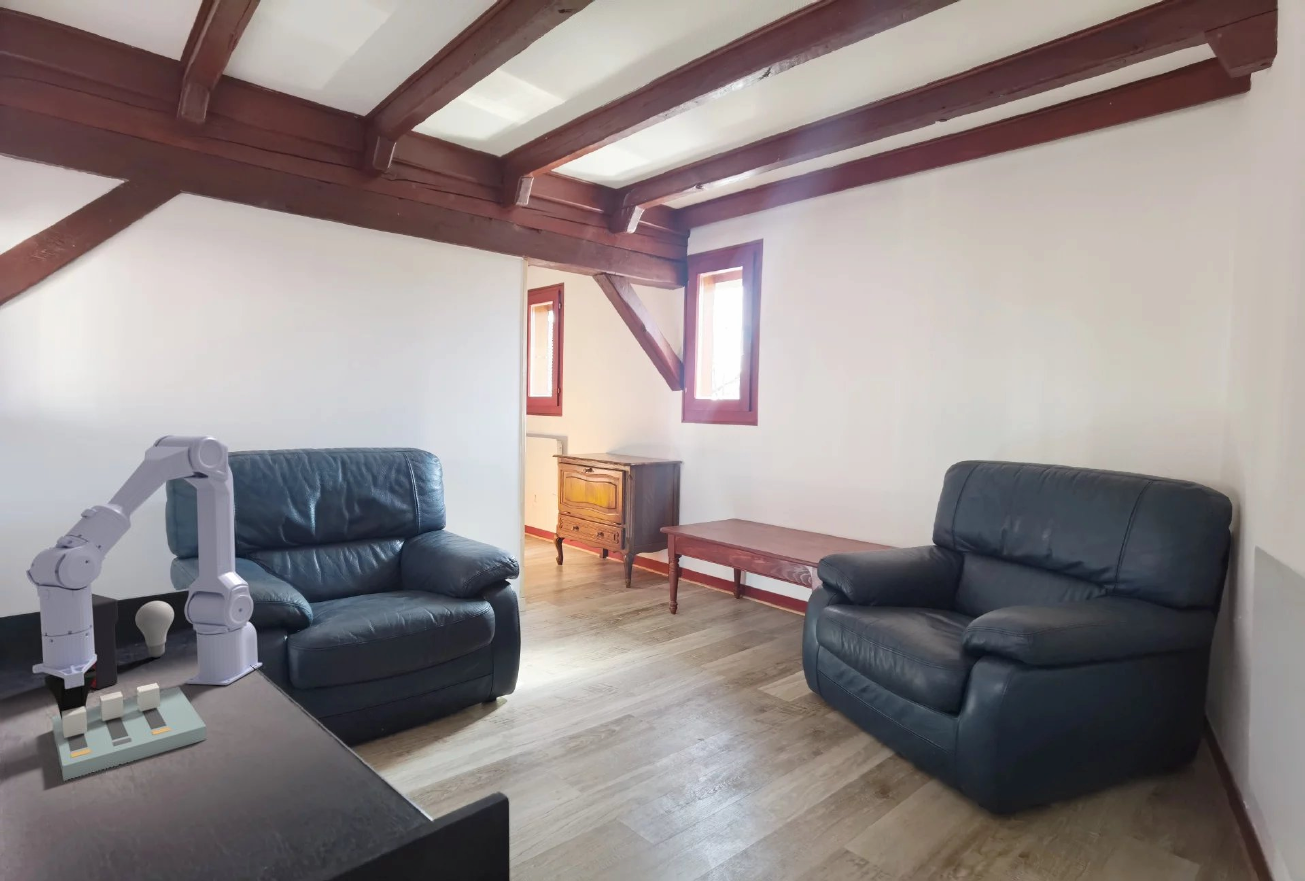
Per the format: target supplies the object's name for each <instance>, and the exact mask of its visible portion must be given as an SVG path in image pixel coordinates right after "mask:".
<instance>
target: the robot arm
mask: <svg viewBox="0 0 1305 881" xmlns="http://www.w3.org/2000/svg"><path fill="white" fill-rule="evenodd" d="M233 477H234V476H233V472H232V470H231V467H230V465H229V448H228V446H227V445H225V444H224V443H223V441H221V440H220V439H218V438H216V437H215V436H214V435H213V436H212V435H201V436H200V435H198V436H196V435H194V436H190V435H188V436H187V435H186V436H185V435H184V436H182V435H181V436H180V435H179V436H178V435H170V434H169V435H167V434H166V435H163V436H161V437H159V438H157V439H156V440H155V441H154V443H153V445H151V446H150V447H149V448H148V449H146V450H145V451H144V459H143V461H142V462H141V463H140V464H139V465H138V467H137V468H136V469H135V470H134V472H133V473H132V474H131V475H130V476H129V478H127V480H125V482H124V483H123V485H122V486H121V487H120V488H119V490H118V491H117V492H116V493H115V494H114V495H113V497H112V498H111V499H110V500H109V501H108V503H106V504H97V505H94V506H92V507H91V508H86V509H84V510H83V511H82V512H81V513H80V517H81V518H80V519H79V521H77V522H76V524H74V525H73V527H71V529H69V531H68V532H67V533H66V534H64V536H63V535H62V536H61V537H59V538H58V539H57V540H56V545H55V546H52V547H51V546H50V547H49V548H46V549H42V550H41V551H40V552H39V553H37V554H36V556H35V557H34V559H33V560H32V561H31V564H30V568H29V569H27V570H25V574H26V576H27V579H28V581H29V582H30V583H31V584H32V585H33V586H35V587H36V589H37V590H36V591H37V597H39V608H40V610H39V611H40V614H39V615H40V628H41V629H40V630H41V642H42V644H41V646H42V659H43V660H42V663H38V664H35V665H34V664H33V665H32V673H33V674H39V673H45V674H48V675H46V676H45V677H43V678H44V685H45V687H46V688H47V690H48V691H50V693H51V694H52V696H53V698H54V700H55V702H56V705H57V708H58V712H59V716H61V719H62V711H66V710H70V709H74V708H79V707H83V706H85V709H87V708H86V707H87V702H88V695H89V693H90V690H91V688H92V687H91V686H92V684H93V682H94V680H95V678H96V671H95V668H94V666H93V664H94V663H95V662H96V661H97V655H96V654H95V648H94V630H93V612H92V594H93V593H92V583H93V582H94V581H95V580H97V579H98V578H99V577H100V574H101V570H102V564H103V561H104V560H105V559H106V555H107V554H108V553H110V551H111V550H112V548H114V547H115V545H116V544H117V543H118V542H119V541H120V539H122V538H123V536H124V535H126V533H127V532H128V531H129V530H130V528H131V526H132V525H131V524H132V523H131V517H130V516H131V515H132V514H134V512H135V511H137V510H138V509H139V508H140V507H141V506H142V505H143V504H144V503H146V501H147V500H148V499H149V498H150V497H152V495H154V494H155V493H156V492H157V491H158V490H159V489H160V487H162V486H163V485H164V484H165V483H166V482H167V481H170V480H176V479H180V478H181V479H183V480H184V481H186V482H187V483H188V484H190V485H191V486H193V487H194V488H195V489H196V499H197V500H196V503H197V504H196V506H197V542H198V543H197V545H198V577H197V578H196V579H195V580H194V581H193V582H192V583H191V584H190V585H188V597H187V599H186V602H185V605H184V609H183V612H184V615H185V619H186V621H188V623H190V624H192V627H193V628H192V629H193V631H196V646H197V648H196V651H197V652H196V653H197V673H198V674H196V675H195V676H192V677H190V678H189V679H187V680H185V683H186V684H187V685H189V684H191V685H215V686H218V685H219V686H228V685H230V684H232V683H233V682H235V681H237V680H239V679H241V678H243V677H244V676H246V675H247V674H249V673H252V672H253V671H254V669H253V668H252V667H254V668H255V670H256V669H258V668H260V667H261V666H262V665H263V662H259V661H258V659H259V658H258V637H257V636H258V635H257V630H256V628H255V626H254V625H253V624H252V623H251V622H250V621H249V620H250V619H251V617H252V614H253V611H254V601H253V597H251V594H250V591H249V590H250V588H249V584H248V582H247V581H246V580H244V578H242V577H241V576H240V575H239V574H238V573H237V572H236V548H235V545H236V544H235V513H234V512H235V509H234V507H235V506H234V505H235V504H234V502H235V501H234V478H233ZM250 665H251V666H252V667H251V666H250Z"/></svg>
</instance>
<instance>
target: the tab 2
mask: <svg viewBox="0 0 1305 881" xmlns="http://www.w3.org/2000/svg"><path fill="white" fill-rule="evenodd" d="M123 700H124V696H123V693H122V692H121V690H120V691H116V692H112V693H108V694H104V695H100V696H99V706H100V711H101V718H102V720H103V721H105V720H109V719H113V718H117V717H121V716H124V708H123Z"/></svg>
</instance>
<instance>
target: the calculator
mask: <svg viewBox="0 0 1305 881" xmlns="http://www.w3.org/2000/svg"><path fill="white" fill-rule="evenodd" d="M118 610H119V609H118V599H116V598H113V597H109V596H104V595H98V594H95V593H92V612H93V630H94V648H95V654H96V655H97V661H96V662H95V663H94V664H93V666H94V668H95V671H96V678H95V680H94V682H93V684H92V686H91V688H94V689H96V690H100V689H102V688H106V687H110V686H113V685H116V684H117V683H118V670H117V668H118V667H117V666H118V665H117V653H116V651H117V650H116V631H115V629H116V628H115V626H116V624H117V622H118V620H119V614H118V613H119V612H118Z"/></svg>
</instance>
